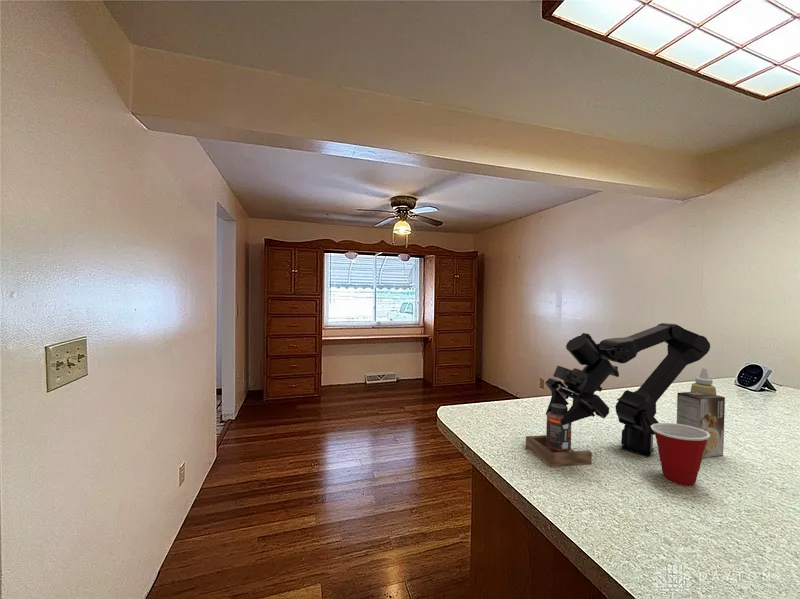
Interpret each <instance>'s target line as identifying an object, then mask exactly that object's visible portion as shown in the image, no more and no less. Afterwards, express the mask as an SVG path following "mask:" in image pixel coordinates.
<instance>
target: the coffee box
mask: <svg viewBox="0 0 800 599" xmlns="http://www.w3.org/2000/svg"><path fill="white" fill-rule="evenodd" d="M676 396H677V399H676V400H677V401H676V424H682V425H687V426H692V427H696V428H699V429H702V430H704V431H706V432H708V433H709V434H710V437H709V439H708V440H707V443H706V447H705V449H704V453H703V457H702V459H703V458H711V457H718V456H724V440H725V439H724V438H725V437H724V436H725V415H726V414H725V410H726V409H725V406H726V397H725V396H721V395H717V394H716V395H714V394H710V393H705V392H701V391H698V392H691V391H686V392H685V391H684V392H677V395H676Z"/></svg>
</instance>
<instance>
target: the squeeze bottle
mask: <svg viewBox="0 0 800 599" xmlns="http://www.w3.org/2000/svg"><path fill="white" fill-rule="evenodd" d="M708 374H709V373H708V370H707V368H705V367H704V368H701V371H700V374H699V376H697V377H695V379H694V382H693V383H692V384H691V387H690V392H698V391H701V392H705V393H710V394H714V395H717V390H716V386H715V385H713V379H711V378H709V375H708Z"/></svg>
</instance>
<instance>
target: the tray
mask: <svg viewBox="0 0 800 599" xmlns="http://www.w3.org/2000/svg"><path fill="white" fill-rule="evenodd" d="M525 448H526V449H527V450H529V452H531V453H532V454H534V455H535V456H536V457H537V458H538V459H540V460H541V461H542V462H543V463H545V464H546V465H547V466H549V467H550V468H556V467H557V468H560V467H574V466H586V465H587V466H588V465H592V461H593V458H592V456H593V452H592V451H590V450H577V451H576V450H574V449H573V448H571V449H570V451H568V452H557V451H554V450H551V449H550V448H548V447H547V445H546V434H545V435H544V434H543V435H526V436H525Z"/></svg>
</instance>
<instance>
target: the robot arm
mask: <svg viewBox="0 0 800 599" xmlns="http://www.w3.org/2000/svg"><path fill="white" fill-rule="evenodd" d="M662 343H665V344H667V347H666V348H667V354H666V356H665V357H664V358H663V359H662V360H661V361H660V363H659V364H658V365H657V367H656V368H655V369H654V370H653V371H652V372H651V374H650V375H649V376H648V377H647V378H646V380H645V381H644V382H643V383H642V385H641V386H640V387H639V388H638V389H637V390H635V391H631V390H627V389H626V390H625V391H623V393H622V395H621V396H620V397H619V398H616V399H617V402H616V404H615V405H614V407H615V413H616V416H617V418H618V422H619V423H620V424H622V425H624V427H623V429H622V430H621V444H620V445H622V446H621V450H625V451H628V452H632V453H635V454H638V455H642V456H645V457H651V456H652V454H653V452H654V450H655V448H654V446H653V445H654V444H653V443H654V436H655V434H654V431H653V430H652V428H651V425H653V424H657V423H660V422H659V421H658V420H657V418H656V417H655V416H656V414H657V402H658V401H659V399H660V398H661V397H662V396H663V394H664V393H665V392H666V391H667V390H668V389H669V387H670V386H671V385H672V384H673V383H674V381H675V380H676V379H677V378H678V377H679V375H680V374H681V373H682V372H683V370H684V369H685V368H686V367H687V366H688V365H691V364H693V363H696V362H698V361H701V359H703V357H705V356H706V355H707V354H708V353H709V352H710V348H711V344H710V342H709V340H708V338H707V337H705V336H704V335H700V334H697V333H696V332H693V331H690V330H688V329H687V328H683V327H682V326H681V325H678V324H677V323H667V322H666V323H665V322H662V323H661V322H660V323H658V324H657V325H655V326H653V327H650V328H647V329H644V330H642V331H638V332H637V333H634V334H632V335H629V336H624V337H613V338H604V339H603V340H601V341H600V342H599V343H596V342H595V340H593V338H592V336H591V334H589V333H585V332H582V333H581V334H580V335H578V336H575V337H573V338H571V339H569V341H567V342H566V344H565V349H566V350H567V351H568V352H569V353H570V354H571V356H572V357H573V358H574V359H575V360H576V361H577V362H578V364H579V365H581V366H584V367H583V368H582V369H579V368H573V369H569V368H566V367H565V366H561V365H557V366H556V368H555V370H554V372H553V375H552V377H550V378H548V379H547V380H546V381H545V383H544V385H546V386H547V388H549V390H550V391H551V398H550V401H549V404H548V407H547V409H546V411H545V415H546V416H547V413H548V412H550V411H552V410H551V404H563V405H566V406H568V405H569V404H570V402H568V401H567V399H569V398H571V399H572V405H571V406H570V408H568V412H567V413H566V414H565V415H564V417H563V418H562V420H561V421H560V423H561V424H562V425H566V424H569V423H571V424H572V423H574V422H576V421H579V420H582V419H586V418H590V417H596V416H598V417H600V418H602V419H606V418H607V416H608V415H610V407H609V406H608V405H607V403H606V402H604V400H603V399H602V398H601V396H599V395H598V394H595V393H596V392H602V391H603V388H602V385H603V383H604V382H605V381H606V380H607V379H608V377H610V376H613V377H615V378H618V377H619V376H620V373H619V370H618V369H619V367H618V366H617V365H613V363H612V362H615V363H618V364H621V365H622V364H626V363H628V362H629V361H631V360H633V359H635V358H636V357H637V355H638V353H640V352H641V351H644V350H646V349H649V348H652V347H654V346H657V345H659V344H662ZM553 377H554V378H553ZM556 378H558V379H556ZM561 380H562V381H563V382H562V381H561Z"/></svg>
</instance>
